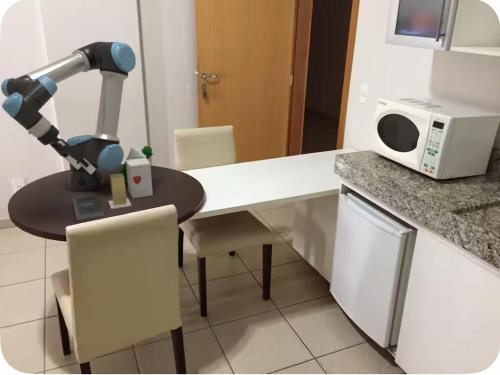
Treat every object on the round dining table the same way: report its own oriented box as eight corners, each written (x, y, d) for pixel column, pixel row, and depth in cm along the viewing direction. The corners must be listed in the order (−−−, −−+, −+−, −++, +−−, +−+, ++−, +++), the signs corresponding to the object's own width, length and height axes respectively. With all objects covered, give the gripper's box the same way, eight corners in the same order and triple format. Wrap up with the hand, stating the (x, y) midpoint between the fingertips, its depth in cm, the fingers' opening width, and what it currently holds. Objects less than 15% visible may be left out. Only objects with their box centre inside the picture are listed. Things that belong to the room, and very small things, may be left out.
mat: (108, 202, 178) (108, 200, 178) (128, 199, 181) (127, 198, 181) (111, 209, 171) (111, 208, 171) (131, 206, 174) (131, 204, 174)
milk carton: (130, 187, 195) (146, 154, 185) (115, 175, 196) (130, 142, 186) (141, 181, 203) (157, 149, 193) (126, 170, 203) (142, 137, 194)
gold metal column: (112, 201, 177) (109, 174, 173) (125, 199, 179) (122, 173, 175) (114, 206, 173) (111, 178, 168) (126, 204, 175) (124, 176, 170)
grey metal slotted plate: (73, 203, 177) (72, 198, 176) (98, 199, 181) (97, 195, 180) (76, 220, 161) (75, 215, 161) (103, 216, 165) (103, 211, 165)
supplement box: (132, 198, 182) (128, 165, 176) (128, 191, 189) (125, 159, 184) (153, 195, 185) (150, 162, 180) (148, 188, 193) (145, 157, 187)
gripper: (26, 135, 162) (68, 171, 174) (47, 141, 143) (92, 181, 156) (40, 121, 164) (80, 158, 177) (63, 125, 146) (106, 166, 159)
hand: (86, 169), depth 167 cm, fingers open, 13 cm apart
